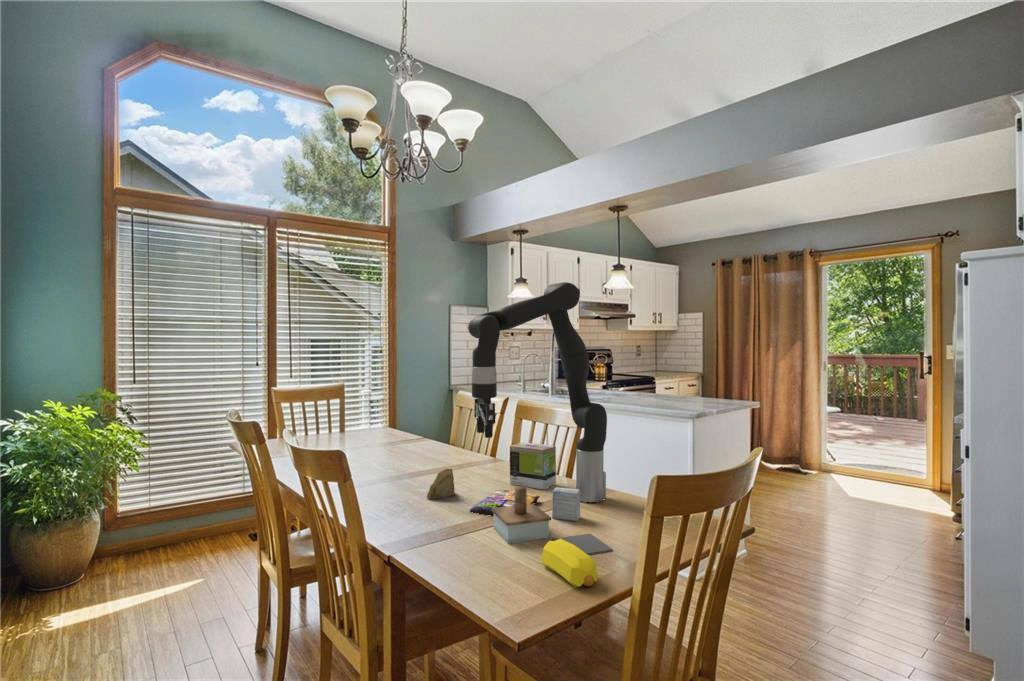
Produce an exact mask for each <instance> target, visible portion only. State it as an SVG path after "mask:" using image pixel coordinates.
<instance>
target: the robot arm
mask: <svg viewBox="0 0 1024 681" xmlns="http://www.w3.org/2000/svg"><path fill="white" fill-rule="evenodd" d="M580 298H581V295H580V290H579V289H578V287H577V285H575V284H574V283H572V282H568V281H567V282H559V283H558V282H557V283H551V284H549V285H547V287H545V289H544V292H543V294H542V295H539V296H537V297H533V298H530V299H529V298H528V299H524V300H522V301H521V300H520V301H517V302H514V303H511V304H509V305H506V306H504V307H503V306H502V307H501V308H499V309H497V310H492V311H489V312H485V313H482V314H478V315H476V316H474V317H473V318H472V319H470V320H469V322H468V325H467V326H468V327H467V328H468V333H469V334H470V336H472V337H473V338H475V339H478V343H477V346H476V347H474V348H473V350H472V357H471V358H472V359H471V360H472V367H471V368H472V369H471V370H472V371H471V397H472V398H474V404H473V405H474V410H473V411H474V412H473V413H474V414H473V416H474V418H475V421H476V432H477V433H478V434H481V433H482V434H483V433H484V438H486V439H491V438H493V435H494V434H493V433H494V432H493V429H494V428H493V426H494V424H496V404H495V402H492V398H493V399H494V398H496V397H497V396H498V394H497V393H498V391H497V390H498V389H497V388H498V386H497V383H498V382H497V378H498V376H497V375H498V374H497V367H496V366H497V360H496V359H497V358H496V355H497V354H496V352H497V348H498V345H499V340H500V336H501V335H500V334H501V331H508V330H511V329H513V328H517V327H519V326H521V325H524V324H526V323H528V322H530V321H532V320H536V319H537V318H540V317H543V316H545V315H548V318H549V321H550V323H551V326H552V330H553V333H554V337H555V338H554V339H555V341H556V344H557V350H558V354H559V357H560V358H559V359H560V361H561V362H560V363H561V366H562V370H563V372H564V378H565V382H566V386H567V391H568V396H569V405H570V411H571V413H570V414H571V416H572V420H573V423H575V425H576V426H577V427H578V428H579V427H580V428H581V429H584V430H583V437H582V438H580V439H578V440H577V441H576V450H575V451H576V452H575V454H576V456H575V457H576V463H575V464H576V473H575V474H576V475H575V476H576V477H575V480H576V482H575V483H576V484H575V486H576V487H575V489H579V490H580V502H581V501H582V503H586V502H590V503H589V504H592V503H591V502H597V503H600V502H599V501H601V502H603V501H604V500H603V499H606V500H607V498H606V496H607V491H606V490H607V487H606V485H607V473H606V471H604V463H605V462H604V461H605V460H604V456H605V455H604V453H605V452H604V450H605V449H604V447H605V444H606V440H607V431H608V430H607V428H608V414H607V410H606V408H605V406H603V405H602V404H600V403H596V402H592V401H590V397H589V394H588V389H587V380H588V376H589V372H590V359H589V355H588V350H587V347H586V344H585V342H584V341H583V339H582V338H581V336H580V335H579V333H578V331H577V330H576V329H575V328H574V326H573V324H572V322H571V319H570V316H569V310H571V309H574V308H575V307H576V306H577V305H578V304H579V302H580ZM602 500H603V501H602Z"/></svg>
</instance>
